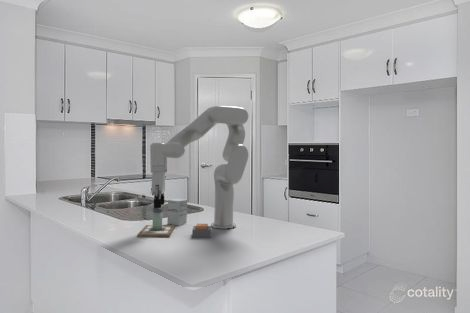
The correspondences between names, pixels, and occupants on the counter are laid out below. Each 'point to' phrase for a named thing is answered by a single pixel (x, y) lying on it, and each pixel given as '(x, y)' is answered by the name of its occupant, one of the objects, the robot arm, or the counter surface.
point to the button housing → (201, 232)
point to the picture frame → (156, 231)
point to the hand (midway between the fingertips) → (159, 206)
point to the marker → (157, 218)
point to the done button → (202, 226)
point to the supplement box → (177, 211)
